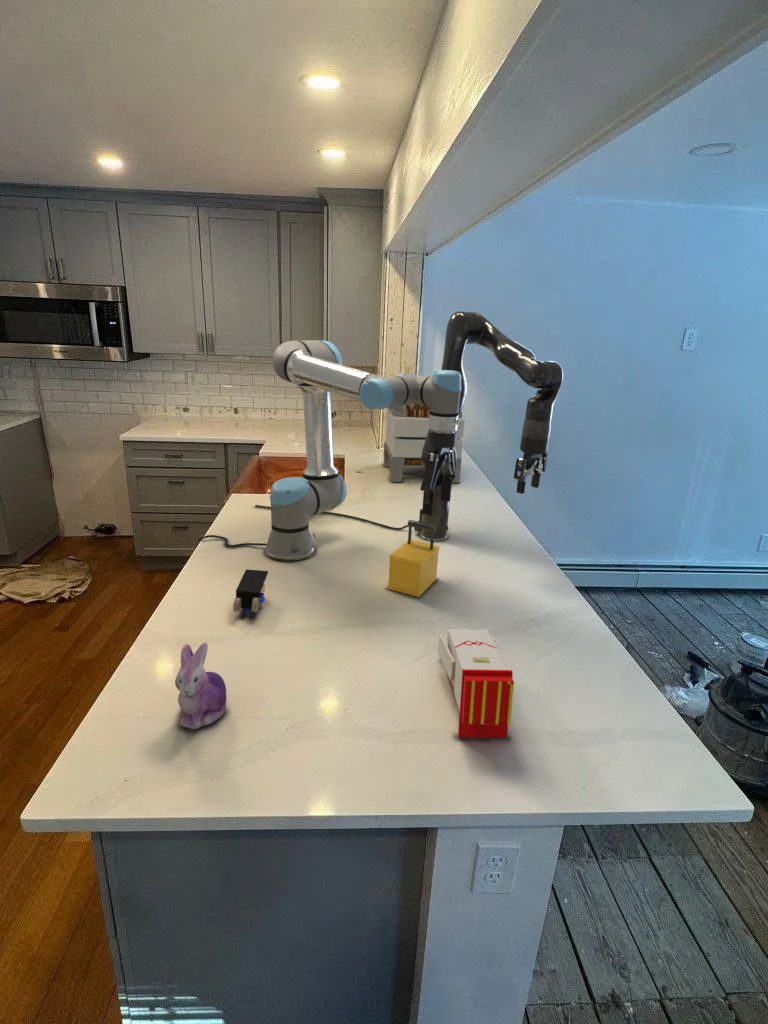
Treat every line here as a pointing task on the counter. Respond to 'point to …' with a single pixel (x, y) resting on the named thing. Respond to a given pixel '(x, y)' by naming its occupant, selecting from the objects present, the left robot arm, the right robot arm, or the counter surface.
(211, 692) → the figurine
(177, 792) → the counter surface
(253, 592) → the figurine character
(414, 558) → the yellow handled panel
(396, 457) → the grey storage bin
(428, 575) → the chest
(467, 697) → the toy
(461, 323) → the right robot arm
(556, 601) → the counter surface
